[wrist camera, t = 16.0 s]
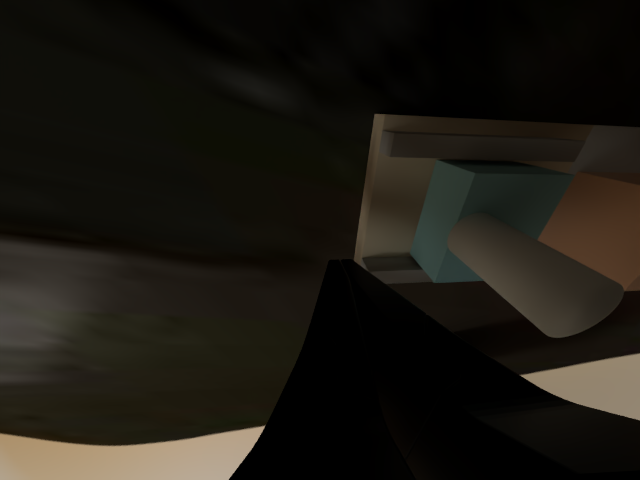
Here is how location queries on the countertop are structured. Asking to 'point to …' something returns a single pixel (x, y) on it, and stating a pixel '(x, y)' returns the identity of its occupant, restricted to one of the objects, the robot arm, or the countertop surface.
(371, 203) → the frame
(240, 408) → the countertop surface
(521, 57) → the countertop surface
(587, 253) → the box
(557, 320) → the ram
